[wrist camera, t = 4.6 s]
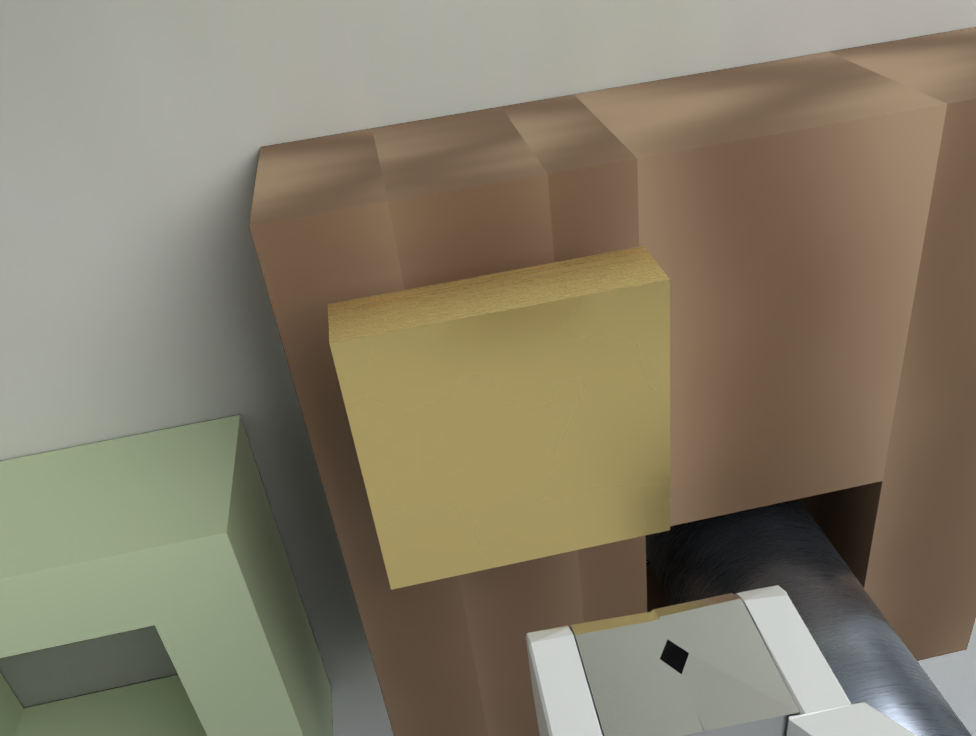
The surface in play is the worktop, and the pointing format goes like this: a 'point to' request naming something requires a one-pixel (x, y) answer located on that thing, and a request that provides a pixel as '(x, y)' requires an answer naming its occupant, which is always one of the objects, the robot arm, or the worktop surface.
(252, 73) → the worktop surface
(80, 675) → the worktop surface
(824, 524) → the socket block
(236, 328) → the worktop surface
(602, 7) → the worktop surface
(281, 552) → the square ring
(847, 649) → the peg
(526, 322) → the yellow square block
